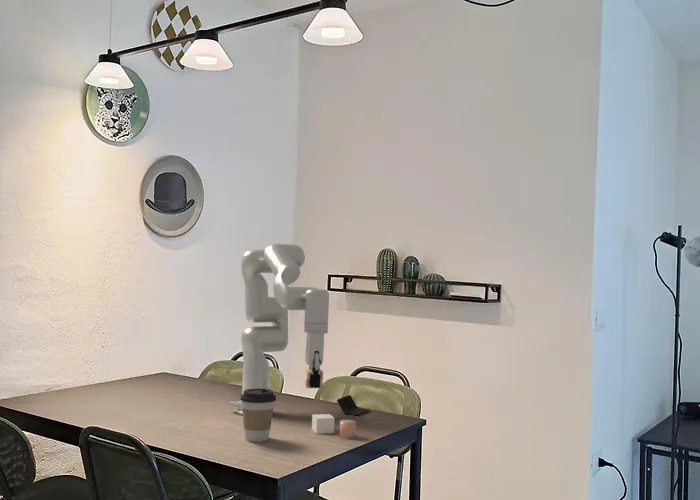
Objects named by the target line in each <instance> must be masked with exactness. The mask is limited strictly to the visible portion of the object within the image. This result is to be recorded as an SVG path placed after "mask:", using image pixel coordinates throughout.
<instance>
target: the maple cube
mask: <svg viewBox="0 0 700 500" xmlns="http://www.w3.org/2000/svg"><path fill="white" fill-rule="evenodd" d="M310 374H311V370H309V369H305V382H304V384H305V388H307V389H323V387H324V384H323V383H324V371H323V370H322V369H320V387H310Z"/></svg>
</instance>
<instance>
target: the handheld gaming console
mask: <svg viewBox="0 0 700 500" xmlns="http://www.w3.org/2000/svg"><path fill="white" fill-rule="evenodd" d="M336 402H337V403H338V405H339V408H340V410H341V411H342V412H343V415H344V414H346V415H345V416H349V415H354V416H353V417H356V416H359V417H361V416H363V415H362V414H364V413H366V412H368V411H369V410H370V408H369V409H367V408H363V407H362V408H361V407H359V406H357V404H356V402H355V400H354V399H353V397H352V396H351V395H349V394H348V395H346V396H344V397H339V398H338V399H337V400H336ZM368 413H369V412H368ZM366 414H367V413H366ZM360 415H361V416H360ZM364 415H365V414H364Z"/></svg>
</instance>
